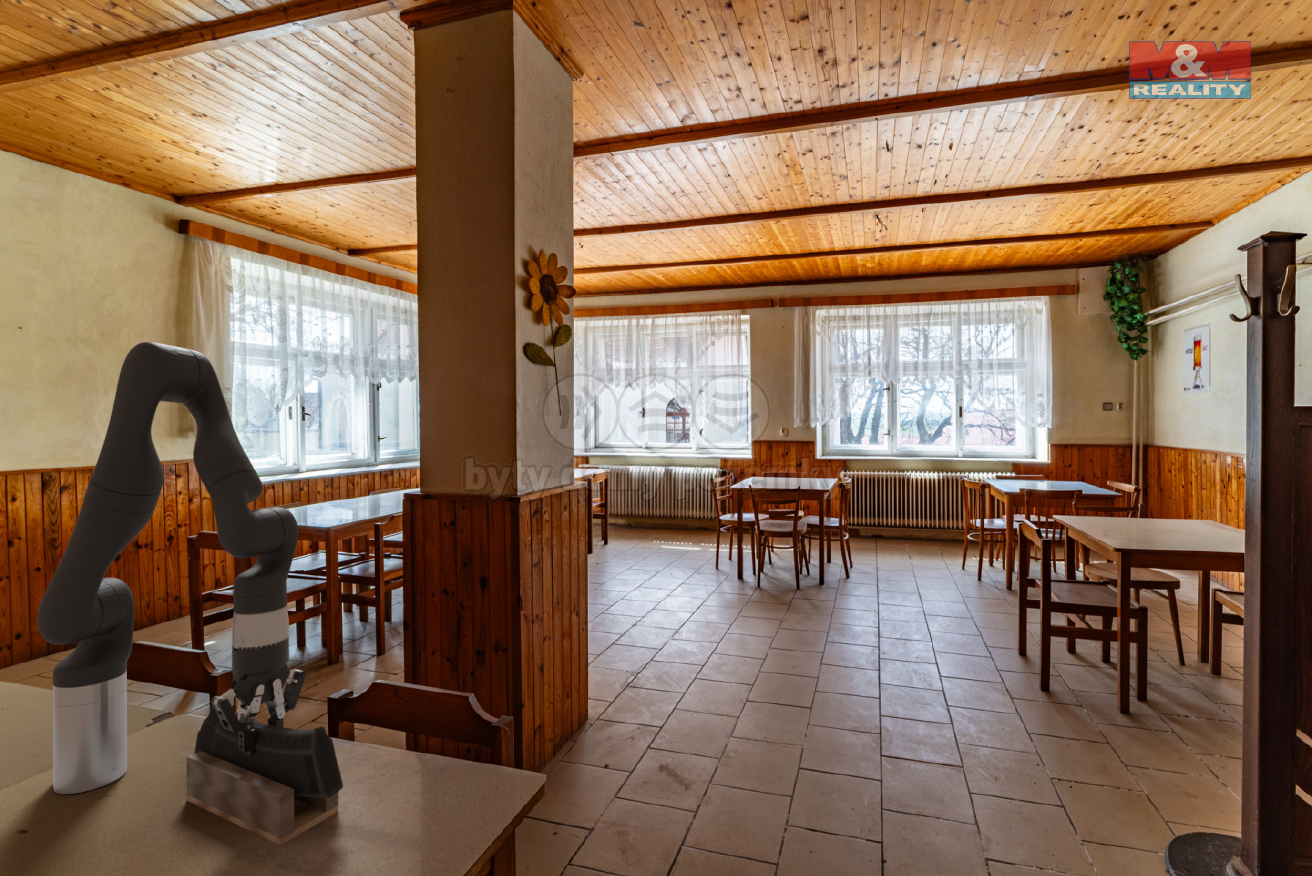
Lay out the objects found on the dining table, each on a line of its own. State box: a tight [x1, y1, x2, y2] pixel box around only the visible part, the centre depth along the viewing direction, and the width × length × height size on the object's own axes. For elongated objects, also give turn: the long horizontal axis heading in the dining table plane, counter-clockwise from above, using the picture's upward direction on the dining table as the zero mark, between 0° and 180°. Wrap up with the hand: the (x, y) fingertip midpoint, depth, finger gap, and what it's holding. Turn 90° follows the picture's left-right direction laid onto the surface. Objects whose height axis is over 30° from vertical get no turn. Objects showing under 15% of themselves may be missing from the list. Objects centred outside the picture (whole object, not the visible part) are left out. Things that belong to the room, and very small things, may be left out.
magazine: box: [194, 705, 344, 799], centre depth 97 cm, size 17×3×30 cm
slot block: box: [186, 751, 339, 847], centre depth 98 cm, size 24×9×7 cm, turn 63°
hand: (261, 746), depth 98 cm, fingers closed on magazine, 3 cm apart
